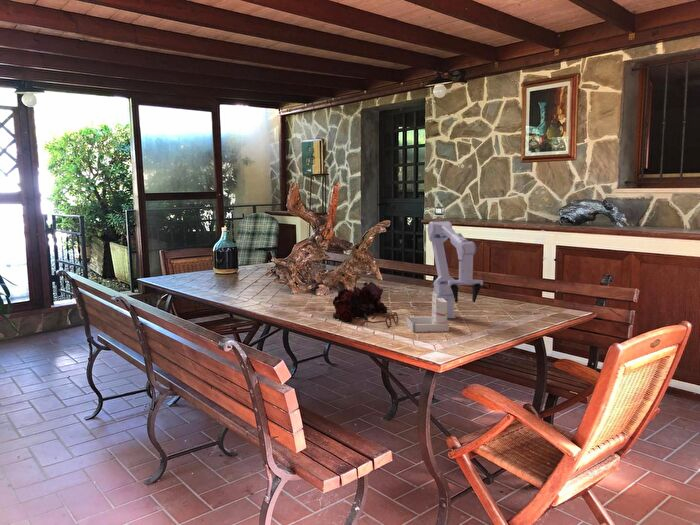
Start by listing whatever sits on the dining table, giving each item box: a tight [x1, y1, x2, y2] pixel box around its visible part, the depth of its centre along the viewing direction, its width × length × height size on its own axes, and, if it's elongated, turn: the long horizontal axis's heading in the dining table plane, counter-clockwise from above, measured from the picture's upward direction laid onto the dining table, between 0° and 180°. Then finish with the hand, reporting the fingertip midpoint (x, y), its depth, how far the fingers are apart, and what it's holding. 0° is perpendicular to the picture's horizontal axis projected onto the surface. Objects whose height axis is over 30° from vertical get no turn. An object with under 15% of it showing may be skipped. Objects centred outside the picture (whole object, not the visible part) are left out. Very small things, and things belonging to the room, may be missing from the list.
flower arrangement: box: [331, 281, 388, 323], centre depth 254 cm, size 31×20×15 cm, turn 144°
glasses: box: [359, 311, 399, 328], centre depth 237 cm, size 13×13×5 cm
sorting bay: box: [406, 315, 450, 333], centre depth 230 cm, size 14×15×3 cm
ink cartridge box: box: [431, 291, 448, 324], centre depth 230 cm, size 9×5×15 cm, turn 4°
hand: (465, 301), depth 231 cm, fingers open, 7 cm apart
